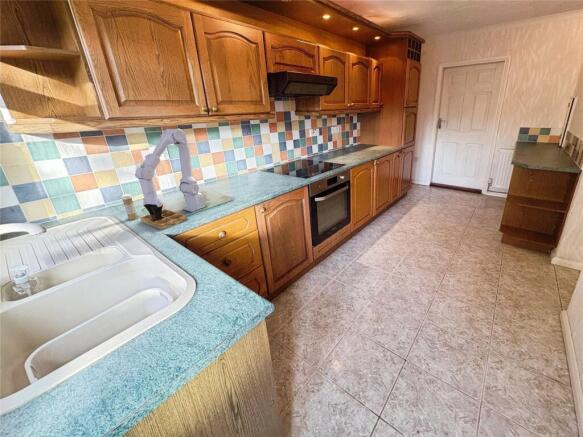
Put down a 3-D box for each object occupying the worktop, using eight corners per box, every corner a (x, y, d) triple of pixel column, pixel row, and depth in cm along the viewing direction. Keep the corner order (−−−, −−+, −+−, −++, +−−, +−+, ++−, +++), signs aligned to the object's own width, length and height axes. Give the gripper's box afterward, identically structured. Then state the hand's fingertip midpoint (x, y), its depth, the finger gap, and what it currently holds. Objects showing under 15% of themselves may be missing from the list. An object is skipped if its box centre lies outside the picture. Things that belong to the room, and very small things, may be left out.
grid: (166, 213, 145) (165, 208, 144) (187, 220, 134) (186, 215, 133) (141, 221, 135) (140, 217, 134) (161, 230, 124) (160, 225, 123)
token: (159, 217, 134) (157, 211, 133) (163, 219, 132) (161, 213, 130) (150, 220, 131) (148, 214, 130) (155, 222, 128) (153, 216, 127)
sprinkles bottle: (131, 217, 142) (123, 193, 137) (139, 216, 142) (132, 193, 137) (127, 220, 138) (119, 196, 132) (135, 219, 138) (128, 195, 133)
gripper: (134, 192, 127) (141, 217, 132) (148, 196, 119) (156, 223, 124) (148, 188, 132) (155, 213, 137) (163, 192, 124) (169, 218, 129)
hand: (156, 217), depth 131 cm, fingers closed on token, 4 cm apart
